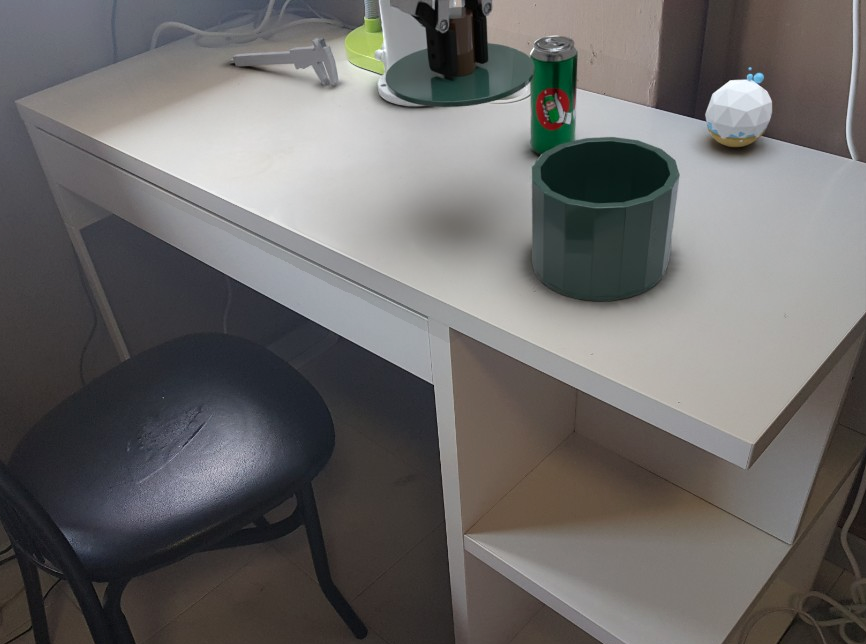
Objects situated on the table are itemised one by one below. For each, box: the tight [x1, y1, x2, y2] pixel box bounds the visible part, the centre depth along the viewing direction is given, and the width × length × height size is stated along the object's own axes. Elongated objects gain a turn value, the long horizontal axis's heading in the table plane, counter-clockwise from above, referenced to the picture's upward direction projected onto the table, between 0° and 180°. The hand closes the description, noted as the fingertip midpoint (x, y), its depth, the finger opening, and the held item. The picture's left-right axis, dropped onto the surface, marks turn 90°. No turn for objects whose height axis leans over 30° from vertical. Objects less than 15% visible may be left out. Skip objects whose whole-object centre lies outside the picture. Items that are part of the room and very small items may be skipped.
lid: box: [385, 6, 535, 108], centre depth 75 cm, size 14×14×6 cm
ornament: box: [704, 66, 773, 148], centre depth 92 cm, size 7×7×8 cm
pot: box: [531, 136, 680, 302], centre depth 77 cm, size 13×13×10 cm
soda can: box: [529, 35, 579, 156], centre depth 93 cm, size 5×5×12 cm
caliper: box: [228, 36, 339, 86], centre depth 118 cm, size 20×1×6 cm, turn 56°
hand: (458, 64), depth 76 cm, fingers closed on lid, 3 cm apart
